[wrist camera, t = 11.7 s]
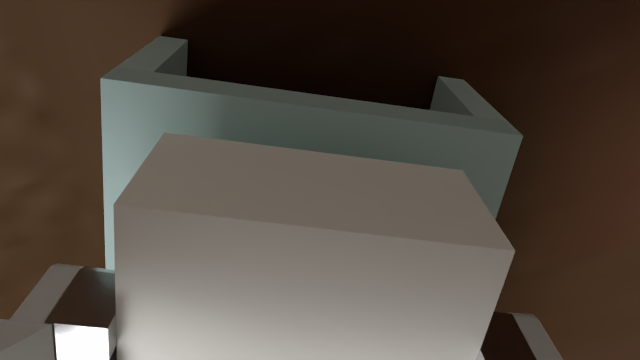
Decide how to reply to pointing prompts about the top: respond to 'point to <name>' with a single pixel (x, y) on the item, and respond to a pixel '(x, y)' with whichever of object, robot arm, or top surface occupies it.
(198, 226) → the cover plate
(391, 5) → the top surface
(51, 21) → the top surface
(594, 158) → the top surface
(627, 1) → the top surface
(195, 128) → the case
